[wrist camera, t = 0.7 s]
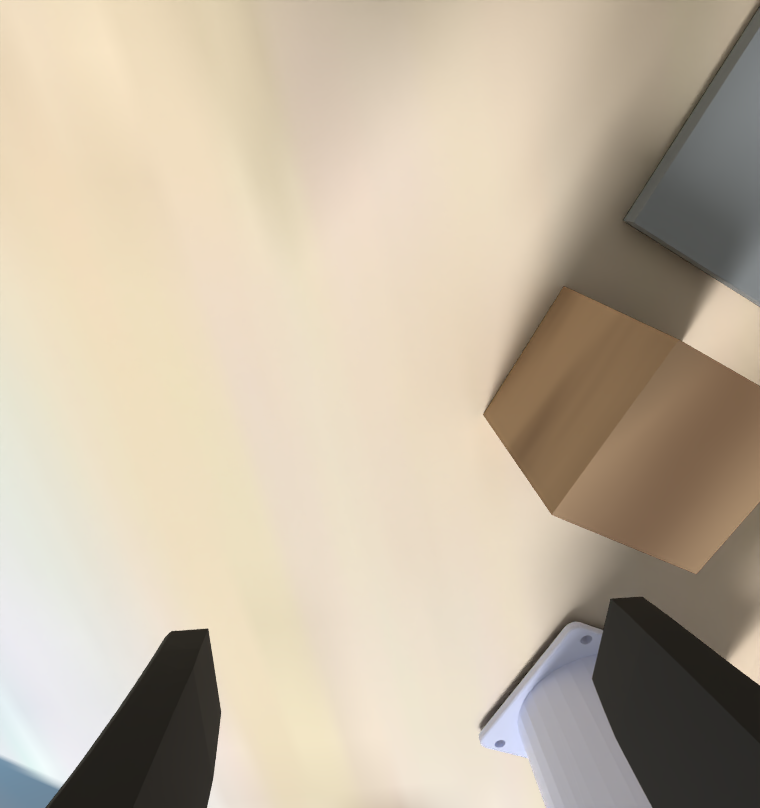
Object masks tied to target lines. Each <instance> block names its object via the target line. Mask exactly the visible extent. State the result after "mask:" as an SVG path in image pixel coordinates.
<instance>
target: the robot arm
mask: <svg viewBox="0 0 760 808" xmlns="http://www.w3.org/2000/svg"><path fill="white" fill-rule="evenodd" d="M220 717H221V708H220V702H219V695H218V689H217V682H216V676H215V669H214V663H213V656H212V650H211V644H210V637H209V631H208V629H197V630H183V631H171V632H170V633H169V634H168V635H167V636H166V637H165V638H164V640H163V642H162V643H161V645H160V646H159V648H158V650H157V651H156V653H155V654H154V656H153V657H152V659H151V661H150V662H149V664H148V665H147V667H146V668H145V670H144V671H143V673H142V675H141V676H140V678H139V679H138V681H137V682H136V684H135V685H134V687H133V688H132V690H131V691H130V693H129V694H128V695H127V697H126V698H125V700H124V701H123V703H122V704H121V706H120V707H119V709H118V710H117V712H116V713H115V715H114V716H113V717H112V719H111V720H110V722H109V723H108V724H107V726H106V727H105V729H104V730H103V731H102V733H101V734H100V736H99V737H98V738H97V740H96V741H95V743H94V744H93V745H92V747H91V748H90V750H89V751H88V752H87V754H86V755H85V757H84V758H83V759H82V761H81V762H80V763H79V765H78V766H77V767H76V769H75V770H74V771H73V773H72V774H71V775H70V777H69V778H68V779H67V781H66V782H65V783H64V785H63V786H62V787H61V788H60V790H59V791H58V793H57V794H56V795H55V796H54V798H53V799H52V800H51V801H50V803H49V804H48V805H47V806H46V808H207V805H208V800H209V796H210V791H211V786H212V781H213V775H214V767H215V759H216V752H217V743H218V735H219V726H220ZM479 740H480V743H481V745H482V746H483V747H486V748H489V749H493V750H497V751H501V752H505V753H509V754H513V755H517V756H521V757H525V758H528V759H529V762H530V765H531V768H532V771H533V773H534V776H535V779H536V782H537V784H538V787H539V790H540V793H541V795H542V798H543V801H544V804H545V806H546V808H760V685H758V684H757V683H756V682H754V681H753V680H752V679H750V678H749V677H748V676H746V675H745V674H744V673H742V672H741V671H740V670H738V669H737V668H736V667H734V666H733V665H732V664H730V663H729V662H728V661H726V660H725V659H724V658H722V657H721V656H720V655H719V654H717V653H716V652H715V651H713V650H712V649H711V648H709V647H708V646H707V645H706V644H704V643H703V642H702V641H700V640H699V639H698V638H696V637H695V636H694V635H693V634H691V633H690V632H689V631H687V630H686V629H685V628H683V627H682V626H681V625H679V624H678V623H677V622H676V621H674V620H673V619H672V618H670V617H669V616H668V615H666V614H665V613H664V612H662V611H661V610H660V609H658V608H657V607H656V606H654V605H653V604H652V603H650V602H649V601H647V600H646V599H645V598H643V597H630V598H617V599H610V604H609V608H608V612H607V616H606V621H605V625H604V629H603V630H601V629H598V628H595V627H593V626H590V625H587V624H584V623H581V622H571V623H569V624H567V625H566V626H565V627H564V628H563V630H562V631H561V632H560V633H559V635H558V636H557V637H556V638H555V640H554V641H553V642H552V643H551V645H550V646H549V647H548V648H547V650H546V651H545V652H544V653H543V655H542V656H541V657H540V658H539V660H538V661H537V662H536V663H535V665H534V666H533V667H532V668H531V670H530V671H529V672H528V673H527V674H526V676H525V677H524V678H523V679H522V681H521V682H520V683H519V684H518V686H517V687H516V688H515V689H514V691H513V692H512V693H511V694H510V696H509V697H508V698H507V699H506V701H505V702H504V703H503V704H502V706H501V707H500V708H499V709H498V711H497V712H496V713H495V714H494V716H493V717H492V718H491V719H490V720H489V722H488V723H487V724H486V725H485V727H484V728H483V729H482V730H481V732H480V733H479Z"/></svg>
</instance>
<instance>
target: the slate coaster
mask: <svg viewBox="0 0 760 808" xmlns="http://www.w3.org/2000/svg"><path fill="white" fill-rule="evenodd" d="M623 221H625V222H626V223H628V224H630V225H631V226H633V227H634V228H636V229H637V230H639V231H641V232H642V233H644V234H645V235H647V236H649V237H650V238H652V239H653V240H655V241H656V242H658V243H660V244H661V245H663V246H664V247H666V248H667V249H669V250H671V251H672V252H674V253H675V254H677V255H679V256H680V257H682V258H683V259H685V260H686V261H688V262H690V263H691V264H693V265H694V266H696V267H698V268H699V269H701V270H702V271H704V272H705V273H707V274H709V275H710V276H712V277H713V278H715V279H716V280H718V281H720V282H721V283H723V284H724V285H726V286H728V287H729V288H731V289H732V290H734V291H735V292H737V293H739V294H740V295H742V296H743V297H745V298H747V299H748V300H750V301H751V302H753V303H754V304H756V305H758V306H759V307H760V7H759V9H758V10H757V12H756V13H755V15H754V16H753V18H752V20H751V21H750V23H749V24H748V26H747V27H746V29H745V31H744V32H743V34H742V35H741V37H740V38H739V40H738V41H737V43H736V45H735V46H734V48H733V49H732V51H731V52H730V54H729V56H728V57H727V59H726V60H725V62H724V63H723V65H722V67H721V68H720V70H719V71H718V73H717V74H716V76H715V77H714V79H713V81H712V82H711V84H710V85H709V87H708V88H707V90H706V92H705V93H704V95H703V96H702V98H701V99H700V101H699V103H698V104H697V106H696V107H695V109H694V110H693V112H692V113H691V115H690V117H689V118H688V120H687V121H686V123H685V124H684V126H683V128H682V129H681V131H680V132H679V134H678V135H677V137H676V139H675V140H674V142H673V143H672V145H671V146H670V148H669V150H668V151H667V153H666V154H665V156H664V157H663V159H662V160H661V162H660V164H659V165H658V167H657V168H656V170H655V171H654V173H653V175H652V176H651V178H650V179H649V181H648V182H647V184H646V186H645V187H644V189H643V190H642V192H641V193H640V195H639V196H638V198H637V200H636V201H635V203H634V204H633V206H632V207H631V209H630V211H629V212H628V214H627V215H626V217H625V218H624V220H623Z"/></svg>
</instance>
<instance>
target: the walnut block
mask: <svg viewBox="0 0 760 808" xmlns="http://www.w3.org/2000/svg"><path fill="white" fill-rule="evenodd" d="M483 415H484V417H485V418H486V420H487V421H488V423H489V424H490V426H491V427H492V428H493V430H494V431H495V433H496V434H497V436H498V437H499V439H500V440H501V442H502V443H503V444H504V446H505V447H506V449H507V450H508V452H509V453H510V455H511V456H512V458H513V459H514V460H515V462H516V463H517V465H518V466H519V468H520V469H521V471H522V472H523V474H524V475H525V476H526V478H527V479H528V481H529V482H530V484H531V485H532V487H533V488H534V490H535V491H536V492H537V494H538V495H539V497H540V498H541V500H542V501H543V503H544V504H545V506H546V507H547V509H548V510H549V511H550V513H551V514H552V515H554V516H556V517H558V518H561V519H563V520H566V521H568V522H571V523H573V524H575V525H578V526H580V527H583V528H585V529H588V530H590V531H592V532H595V533H597V534H600V535H602V536H605V537H607V538H609V539H612V540H614V541H617V542H619V543H622V544H624V545H626V546H629V547H631V548H634V549H636V550H639V551H641V552H643V553H646V554H648V555H651V556H653V557H656V558H658V559H660V560H663V561H665V562H668V563H670V564H673V565H675V566H677V567H680V568H682V569H685V570H687V571H690V572H692V573H694V574H697V573H698V572H699V571H700V569H701V568H702V567H703V566H704V565H705V564H706V563H707V561H708V560H709V559H710V558H711V557H712V556H713V555H714V553H715V552H716V551H717V550H718V549H719V548H720V547H721V545H722V544H723V543H724V542H725V541H726V540H727V539H728V537H729V536H730V535H731V534H732V533H733V532H734V531H735V529H736V528H737V527H738V526H739V525H740V524H741V523H742V521H743V520H744V519H745V518H746V517H747V516H748V515H749V513H750V512H751V511H752V510H753V509H754V508H755V507H756V505H757V504H758V503H759V502H760V386H759V385H757V384H755V383H754V382H752V381H750V380H748V379H747V378H745V377H743V376H741V375H740V374H738V373H736V372H734V371H733V370H731V369H729V368H727V367H726V366H724V365H722V364H721V363H719V362H717V361H715V360H714V359H712V358H710V357H708V356H707V355H705V354H703V353H701V352H700V351H698V350H696V349H694V348H693V347H691V346H689V345H687V344H686V343H684V342H682V341H680V340H679V339H676V338H674V337H672V336H670V335H668V334H666V333H664V332H661V331H659V330H657V329H655V328H653V327H651V326H649V325H646V324H644V323H642V322H640V321H638V320H636V319H634V318H631V317H629V316H627V315H625V314H623V313H621V312H619V311H616V310H614V309H612V308H610V307H608V306H606V305H604V304H601V303H599V302H597V301H595V300H593V299H591V298H589V297H586V296H584V295H582V294H580V293H578V292H576V291H574V290H571V289H569V288H567V287H565V286H564V287H563V288H562V290H561V291H560V293H559V295H558V296H557V298H556V299H555V301H554V303H553V304H552V306H551V307H550V309H549V311H548V312H547V314H546V315H545V317H544V318H543V320H542V322H541V323H540V325H539V326H538V328H537V330H536V331H535V333H534V334H533V336H532V338H531V339H530V341H529V342H528V344H527V346H526V347H525V349H524V350H523V352H522V354H521V355H520V357H519V358H518V360H517V362H516V363H515V365H514V366H513V368H512V369H511V371H510V373H509V374H508V376H507V377H506V379H505V381H504V382H503V384H502V385H501V387H500V389H499V390H498V392H497V393H496V395H495V397H494V398H493V400H492V401H491V403H490V405H489V406H488V408H487V409H486V411H485V413H484V414H483Z"/></svg>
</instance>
